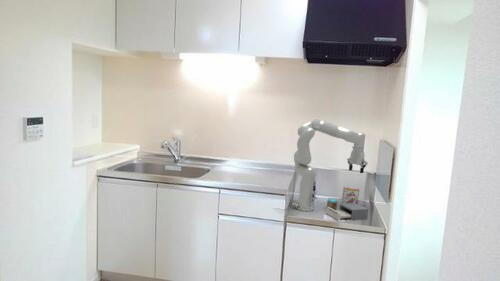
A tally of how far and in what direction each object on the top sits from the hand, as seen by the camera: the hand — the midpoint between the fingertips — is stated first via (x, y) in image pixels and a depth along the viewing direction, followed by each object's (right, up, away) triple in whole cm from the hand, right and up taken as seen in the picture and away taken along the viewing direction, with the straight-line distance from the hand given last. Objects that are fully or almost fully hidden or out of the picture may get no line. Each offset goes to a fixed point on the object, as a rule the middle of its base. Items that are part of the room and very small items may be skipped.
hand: (355, 171), depth 247 cm
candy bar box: (-6, -28, -1) cm, 29 cm away
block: (-20, -27, -6) cm, 34 cm away
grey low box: (-8, -30, -17) cm, 35 cm away
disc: (-19, -21, -6) cm, 30 cm away
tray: (-18, -29, -21) cm, 40 cm away
